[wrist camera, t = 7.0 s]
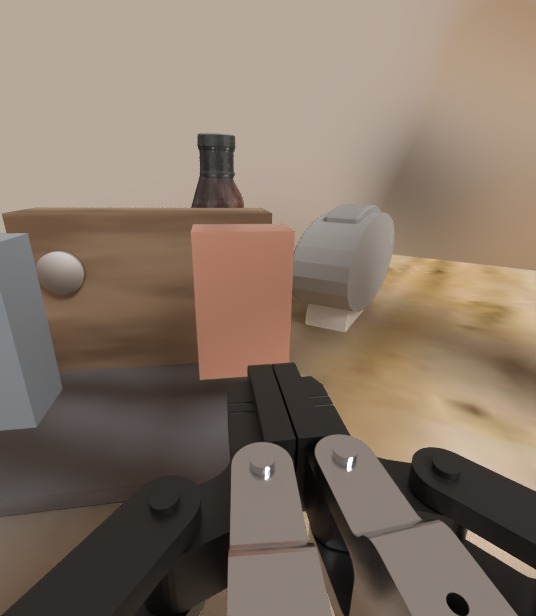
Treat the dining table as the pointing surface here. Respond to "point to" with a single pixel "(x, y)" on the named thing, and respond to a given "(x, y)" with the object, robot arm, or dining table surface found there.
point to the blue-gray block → (24, 339)
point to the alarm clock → (342, 264)
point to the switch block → (118, 358)
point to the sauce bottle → (216, 173)
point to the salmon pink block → (242, 296)
